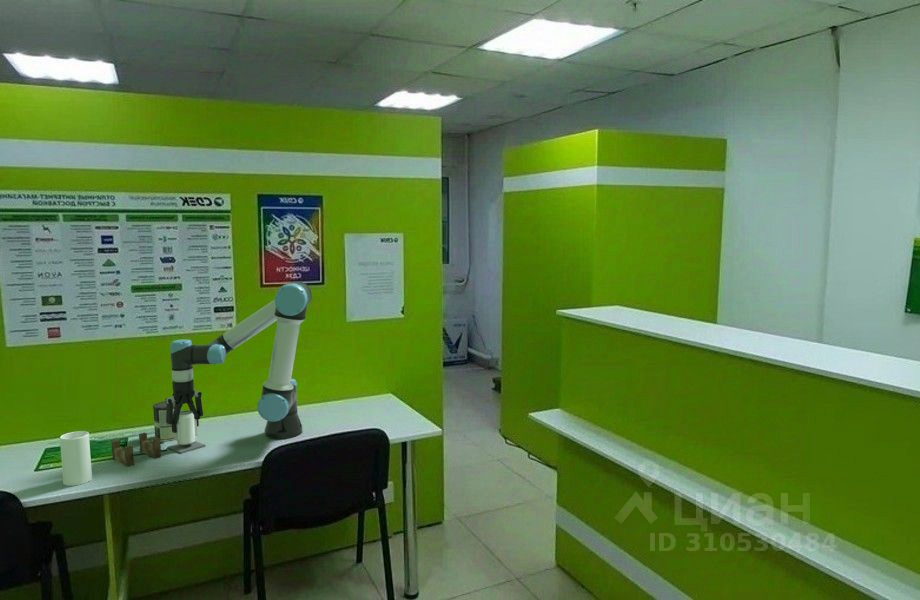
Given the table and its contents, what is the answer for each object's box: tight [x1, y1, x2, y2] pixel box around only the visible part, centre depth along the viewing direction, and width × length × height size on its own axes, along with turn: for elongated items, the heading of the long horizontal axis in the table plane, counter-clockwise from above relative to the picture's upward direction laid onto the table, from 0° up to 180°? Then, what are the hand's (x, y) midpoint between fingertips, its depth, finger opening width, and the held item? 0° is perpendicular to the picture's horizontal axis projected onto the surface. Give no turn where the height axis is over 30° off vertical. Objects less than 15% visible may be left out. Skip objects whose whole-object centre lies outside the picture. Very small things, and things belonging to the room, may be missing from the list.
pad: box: [166, 440, 206, 454], centre depth 235 cm, size 10×10×1 cm
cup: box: [59, 430, 93, 487], centre depth 203 cm, size 8×8×16 cm
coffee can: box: [152, 400, 182, 442], centre depth 246 cm, size 10×10×14 cm
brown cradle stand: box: [110, 432, 162, 467], centre depth 224 cm, size 12×12×7 cm
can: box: [176, 409, 196, 445], centre depth 235 cm, size 6×6×12 cm
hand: (186, 437), depth 235 cm, fingers closed on can, 6 cm apart
